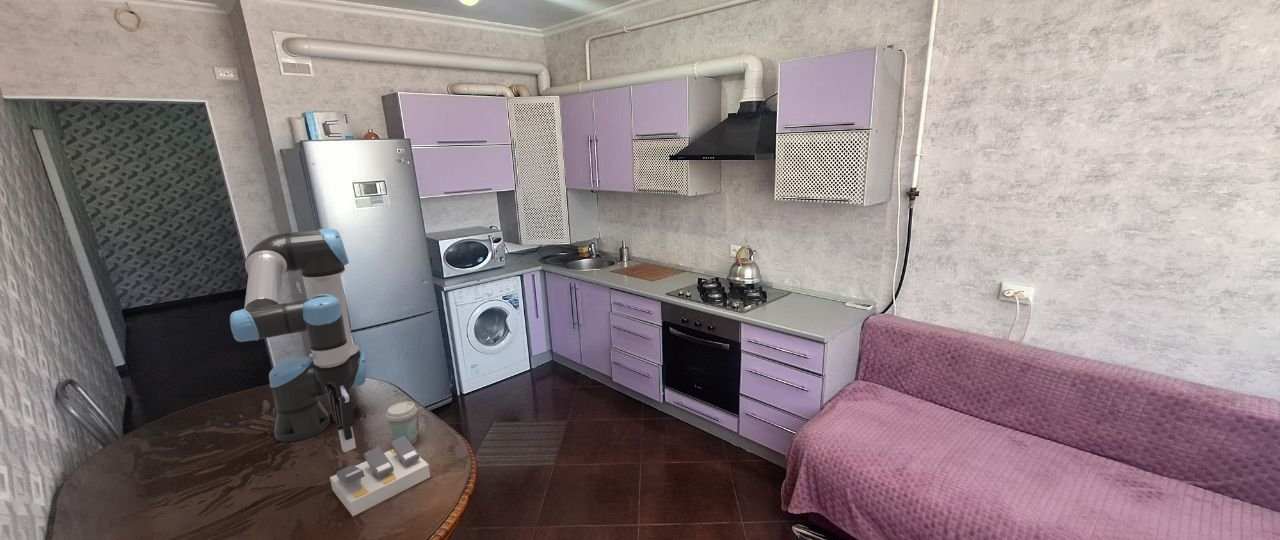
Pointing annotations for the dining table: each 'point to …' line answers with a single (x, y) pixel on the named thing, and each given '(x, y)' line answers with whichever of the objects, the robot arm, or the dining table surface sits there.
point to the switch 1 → (350, 474)
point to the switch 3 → (404, 450)
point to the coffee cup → (403, 420)
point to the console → (379, 483)
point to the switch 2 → (378, 462)
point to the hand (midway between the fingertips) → (349, 448)
